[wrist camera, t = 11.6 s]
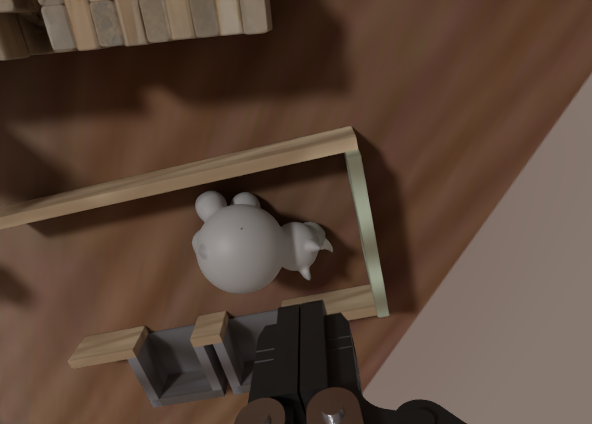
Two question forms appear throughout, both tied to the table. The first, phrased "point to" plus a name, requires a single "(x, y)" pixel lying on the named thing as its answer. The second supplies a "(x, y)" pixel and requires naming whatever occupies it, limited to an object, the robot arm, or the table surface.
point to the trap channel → (217, 326)
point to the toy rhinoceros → (251, 243)
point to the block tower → (121, 23)
